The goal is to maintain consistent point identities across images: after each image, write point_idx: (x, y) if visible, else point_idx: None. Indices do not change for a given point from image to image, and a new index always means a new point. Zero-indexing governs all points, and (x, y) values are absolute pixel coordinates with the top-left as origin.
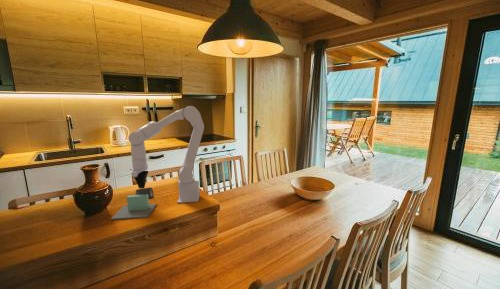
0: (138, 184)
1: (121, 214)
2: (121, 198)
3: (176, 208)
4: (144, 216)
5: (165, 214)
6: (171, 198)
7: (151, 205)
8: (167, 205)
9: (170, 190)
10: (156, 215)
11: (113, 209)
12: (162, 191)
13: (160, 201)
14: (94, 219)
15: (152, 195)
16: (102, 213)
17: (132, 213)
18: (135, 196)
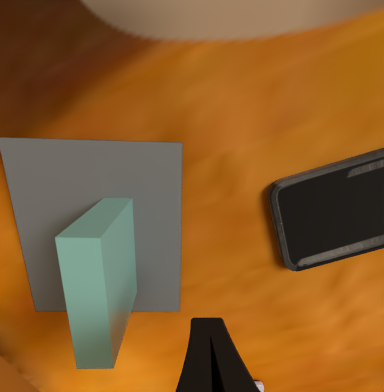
0: (187, 363)
1: (53, 178)
2: (351, 59)
3: (129, 384)
4: (33, 297)
5: (71, 359)
6: (251, 348)
7: (160, 295)
8: (167, 349)
9: (374, 324)
10: (62, 331)
11: (155, 83)
12: (376, 289)
13: (224, 311)
14: (7, 15)
15: (313, 263)
16: (97, 29)
17: None
18: (70, 300)
